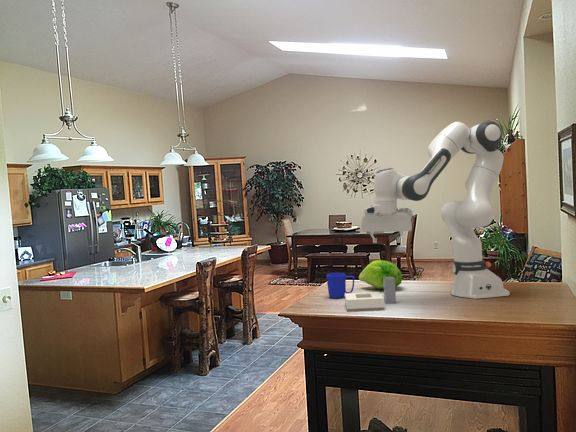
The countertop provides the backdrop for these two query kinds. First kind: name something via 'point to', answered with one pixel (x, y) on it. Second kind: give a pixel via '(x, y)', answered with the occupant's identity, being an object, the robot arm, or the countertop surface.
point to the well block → (364, 301)
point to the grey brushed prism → (389, 290)
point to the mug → (337, 284)
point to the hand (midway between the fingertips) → (386, 242)
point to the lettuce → (380, 273)
